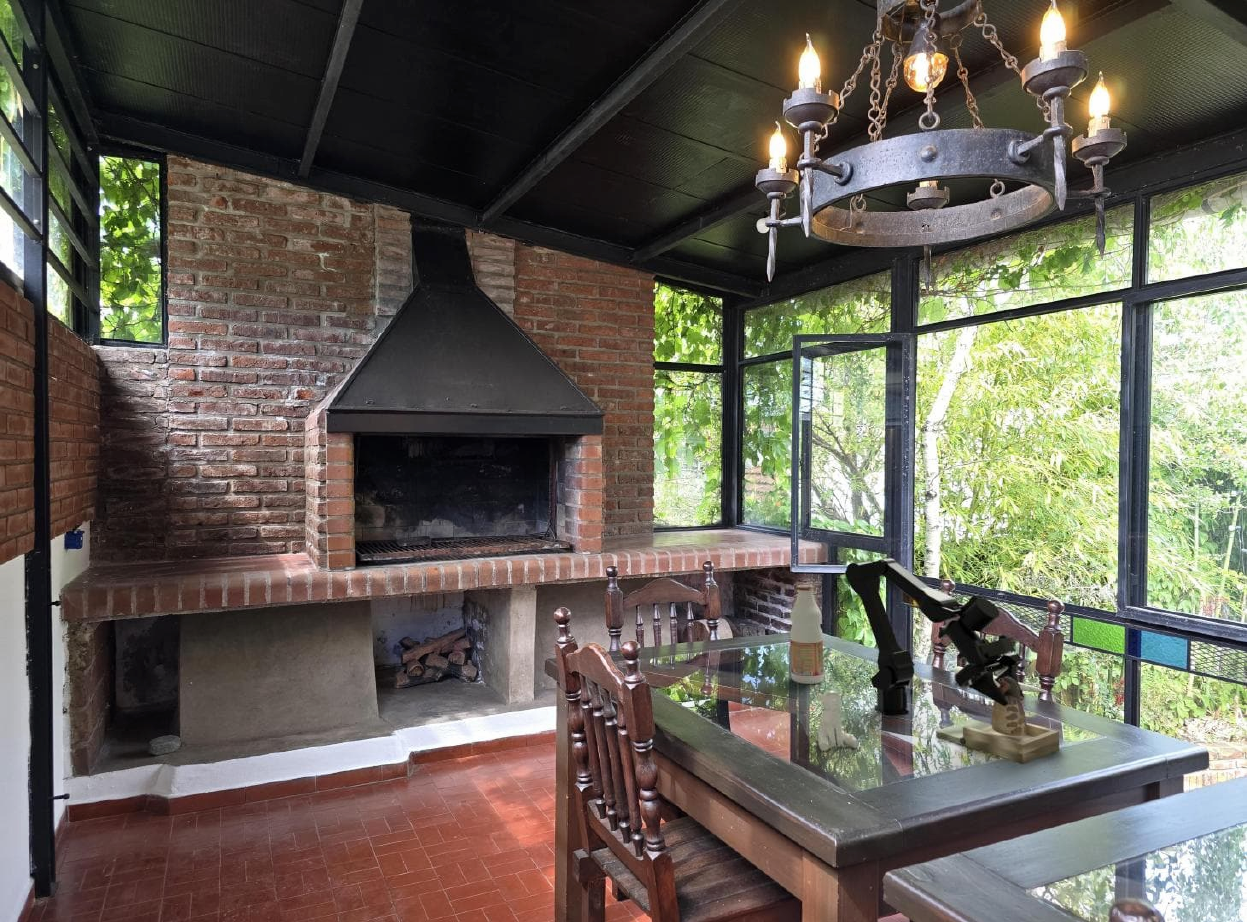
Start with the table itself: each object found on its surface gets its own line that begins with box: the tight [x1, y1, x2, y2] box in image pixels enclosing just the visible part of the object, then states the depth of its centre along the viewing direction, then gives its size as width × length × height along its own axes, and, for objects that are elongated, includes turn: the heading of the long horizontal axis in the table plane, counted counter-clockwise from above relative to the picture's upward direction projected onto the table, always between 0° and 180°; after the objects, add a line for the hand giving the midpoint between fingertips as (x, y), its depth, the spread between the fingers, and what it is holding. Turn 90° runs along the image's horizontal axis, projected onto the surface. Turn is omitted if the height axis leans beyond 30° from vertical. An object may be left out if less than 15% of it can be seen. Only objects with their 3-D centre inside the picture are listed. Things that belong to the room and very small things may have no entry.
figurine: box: [990, 677, 1027, 736], centre depth 174 cm, size 7×7×12 cm
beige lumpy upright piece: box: [816, 689, 860, 752], centre depth 179 cm, size 10×9×12 cm
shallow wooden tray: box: [935, 719, 1060, 765], centre depth 177 cm, size 21×14×4 cm
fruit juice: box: [789, 584, 825, 685], centre depth 231 cm, size 9×9×28 cm
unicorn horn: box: [953, 666, 1049, 693], centre depth 219 cm, size 5×24×5 cm, turn 55°
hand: (1014, 702), depth 173 cm, fingers closed on figurine, 6 cm apart
